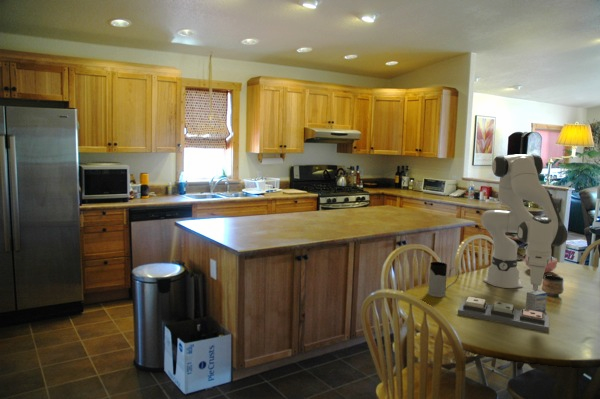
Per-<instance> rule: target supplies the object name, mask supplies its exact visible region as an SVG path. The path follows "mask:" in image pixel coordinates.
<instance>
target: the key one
mask: <svg viewBox="0 0 600 399" xmlns="http://www.w3.org/2000/svg"><path fill="white" fill-rule="evenodd" d="M466 299H467V301H466V305H468V306H473V307H478V308H484V306H485V302H486V299H484V298H477V297H473V296H468V297H467V298H466Z"/></svg>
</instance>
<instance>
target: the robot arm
mask: <svg viewBox="0 0 600 399" xmlns="http://www.w3.org/2000/svg"><path fill="white" fill-rule="evenodd" d="M491 169H492V170H491V171H492V172H493V175H494V177H497V178H499V183H498V194H497V195H498V196H497V198H498V201H499V202H500V203H501V204H502V205H504V206H506V207H507V208H508V209H509V210H503V209H488V210H485V211H484V212H483V213H482V215H481V218H480V222H481V225H482V227H483V229H486V231H488V233H489V235H490V236H491V238H492V242H493V256H492V257H491V264H490V265H489V266H488V269H487V270H488V271H487V276H486V277H485V278H483V280H482V281H483V282H485V283H487V284H489V285H491V286H494V287H498V288H504V289H516V288H523V284H522V282H521V280H520V278H521V277H520V270H519V269H518V268H517V266H518V259H517V256H518V243H517V242H516V241H515V240H513V238H512V239H511V238H510V237H508V236H507V235H506V233H511V234H512V233H515V234H517V239H518V240H519V241H520V242H521V243H523V244H527V247H526V253H525V257H526V260H527V261H528V263H529V265H530V268H529V277H530V279H529V280H530V284H531V285H532V291H537V290H539V286H542V284H543V279H544V274H545V273H544V271H545V268H546V267H547V265H548V264H549V263H550V262H551V256H552V247H560V246H562V245H563V244H564V243H566V241H567V240H568V238H569V237H568V235H569V234H568V229H567V227H566V226H565V224H564V222H563V220H562V218H561V215H560V213H559V211H558V208H557V206H556V203H555V200H554V199H553V196H552V194H551V192H550V191H549V189H547V188H545V187H544V185H543V184H542V183H541V181H540V178H539V176H540V175H541V173H542V172H543V169H544V161H543V159H542V157H541V156H540V155H538V154H526V153H525V154H520V153H519V154H508V155H498V156H496V157H495V158H493V162H492V165H491ZM524 200H525V201H528V202H530V203H533V204H536V205H537V206H539V207H540V208H541V209H542V210H543V213H544V215H545V216H544V215H543V216H542V215H535V216H534V215H533V214H532V213H531V212H530V211H529V210H527V207H526V206H525V204H524Z"/></svg>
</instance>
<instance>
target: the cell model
mask: <svg viewBox="0 0 600 399" xmlns="http://www.w3.org/2000/svg"><path fill="white" fill-rule="evenodd" d="M524 262H525V265H526V266H527V267H528V268H529V269H530V265H529V263H528V261H527V260H526V256H525V260H524ZM558 263H559V262H558V258H557V257H555V256H553V255H551V262H550V263H549V264H548V265H547V267H546V268H545V271H544V274H546V273H550V272H552V271H555V269H556V268H557V266H558Z"/></svg>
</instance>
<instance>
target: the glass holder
mask: <svg viewBox="0 0 600 399" xmlns="http://www.w3.org/2000/svg"><path fill="white" fill-rule="evenodd" d="M447 266H448V265H447V263H445V262H441V261H432V262H430V267H429V278H428V279H429V280H428V290H427V295H429V296H431V297H437V298H442V297H443V298H444V297H446V296H447V293H446V291H447V289H448V288H450V287H451V286H453V285H454V284H455V283H456V282H457V281H458V279H459V277H460V269H459V268H458V267H451V268H450V270H449V274H447ZM453 269H457V271H458V273H457V277H456V279H455V280H454V281H453V282H452V283H451V284H449V285H448V286H447V277H449V276H450V275H451V273H452V272H451V271H452V270H453Z"/></svg>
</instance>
